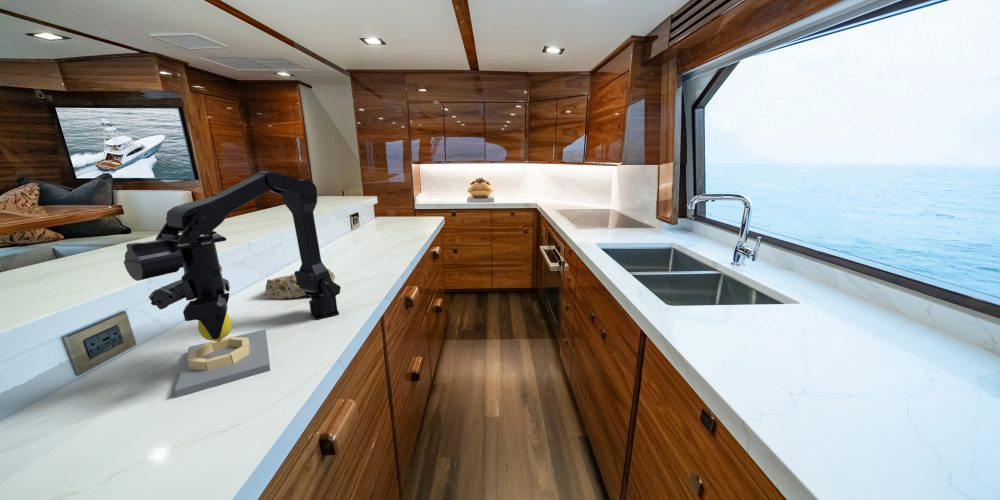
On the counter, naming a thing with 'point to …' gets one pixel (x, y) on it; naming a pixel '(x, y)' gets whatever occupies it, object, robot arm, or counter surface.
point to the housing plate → (223, 362)
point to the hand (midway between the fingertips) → (217, 333)
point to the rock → (286, 287)
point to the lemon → (224, 332)
